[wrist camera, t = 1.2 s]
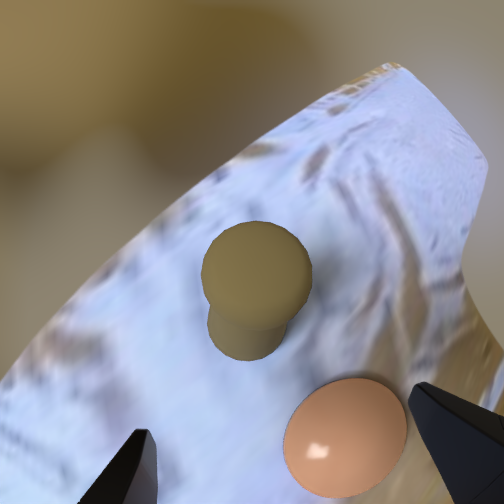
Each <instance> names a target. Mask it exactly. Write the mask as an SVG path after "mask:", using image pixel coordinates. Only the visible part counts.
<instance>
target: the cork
mask: <svg viewBox="0 0 504 504" xmlns="http://www.w3.org/2000/svg"><path fill="white" fill-rule="evenodd" d="M201 279H202V285H203V290H204V294H205V297H206V298H207V300H208V302H209V304H210V309H209V314H208V321H207V326H208V331H209V336H210V338H211V339H212V341H213V343H214V345H215V346H216V347H217V348H218V349H219V350H220V351H221V352H222V353H223V354H225V355H226V356H229V357H231V358H233V359H236V360H241V361H253V360H258V359H262V358H264V357H266V356H267V355H269V354H271V353H272V352H274V350H275V349H276V348H277V347H278V346H279V345H280V343H281V341H282V339H283V336H284V334H285V331H286V326H287V322H288V321H289V320H291V319H292V318H293V317H294V316H295V315H296V314H297V313H298V311H299V310H300V309H301V308H302V306H303V305H304V304H305V303H306V301H307V299H308V296H309V293H310V290H311V287H312V264H311V261H310V258H309V255H308V252H307V250H306V249H305V248H304V246H303V245H302V244H301V242H300V241H299V240H298V238H297V237H295V236H294V235H293V234H291V233H290V232H289V231H288V230H286V229H285V228H283V227H281V226H278V225H276V224H273V223H271V222H262V221H251V222H244V223H240V224H237V225H235V226H233V227H231V228H229V229H226V230H224V231H223V232H222V233H221V234H220V235H219V236H218V237H217V238H216V239H214V240H213V242H212V243H211V245H210V247H209V249H208V251H207V252H206V254H205V257H204V259H203V265H202V271H201Z"/></svg>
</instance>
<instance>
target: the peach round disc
mask: <svg viewBox="0 0 504 504" xmlns="http://www.w3.org/2000/svg"><path fill="white" fill-rule="evenodd" d="M406 434H407V423H406V417H405V413H404V410H403V407H402V405H401V403H400V401H399V400H398V399H397V397H396V396H395V395H394V394H393V393H392V392H391V391H390V390H389V389H388V388H387V387H385V386H383V385H382V384H380V383H378V382H375V381H372V380H368V379H362V378H350V379H344V380H338V381H335V382H331V383H329V384H327V385H324V386H322V387H321V388H319V389H317V390H315V391H314V392H313V393H311V394H310V395H309V396H308V397H307V398H305V399H304V400H303V401H302V402H301V404H300V405H299V406H298V407H297V408H296V410H295V411H294V413H293V414H292V416H291V418H290V420H289V422H288V425H287V428H286V430H285V435H284V441H283V453H284V459H285V462H286V465H287V468H288V470H289V471H290V473H291V475H292V476H293V477H294V479H295V480H296V481H297V482H298V483H299V484H300V485H301V486H302V487H303V488H305V489H306V490H308V491H309V492H311V493H314V494H316V495H319V496H322V497H328V498H345V497H350V496H354V495H357V494H360V493H362V492H365V491H367V490H369V489H370V488H372V487H374V486H375V485H377V484H378V483H379V482H380V481H382V480H383V479H384V478H385V477H386V476H387V475H388V474H389V473H390V472H391V470H392V469H393V468H394V466H395V465H396V463H397V462H398V460H399V458H400V456H401V454H402V451H403V448H404V445H405V441H406Z"/></svg>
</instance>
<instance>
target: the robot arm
mask: <svg viewBox="0 0 504 504" xmlns="http://www.w3.org/2000/svg"><path fill="white" fill-rule="evenodd" d="M408 405H409V408H410V410H411V413H412V415H413V418H414V420H415V423H416V425H417V428H418V430H419V433H420V435H421V437H422V439H423V441H424V443H425V445H426V447H427V449H428V451H429V453H430V455H431V457H432V459H433V461H434V463H435V465H436V466H437V468H438V470H439V472H440V474H441V476H442V478H443V481H444V483H445V485H446V487H447V489H448V491H449V493H450V495H451V497H452V499H453V501H454V504H504V417H503V416H501V415H498V414H496V413H494V412H491V411H489V410H487V409H484V408H482V407H480V406H477V405H475V404H473V403H471V402H468V401H466V400H464V399H462V398H459V397H457V396H455V395H453V394H451V393H448V392H446V391H444V390H442V389H440V388H438V387H435V386H433V385H431V384H429V383H427V382H421V383H418V384H416V385H414V387H413V389H412V392H411V394H410V397H409V399H408ZM157 493H158V480H157V450H156V444H155V441H154V439H153V437H152V435H151V433H150V431H149V430H148V429H135V430H134V432H133V433H132V434H131V435H130V437H129V438H128V439H127V441H126V442H125V443H124V444H123V446H122V447H121V448H120V450H119V451H118V452H117V454H116V455H115V456H114V457H113V459H112V460H111V461H110V462H109V464H108V465H107V466H106V468H105V469H104V470H103V471H102V473H101V474H100V475H99V477H98V478H97V479H96V480H95V482H94V483H93V484H92V485H91V487H90V488H89V489H88V490H87V492H86V493H85V494H84V496H83V497H82V498H81V499H80V502H78V503H77V504H157Z"/></svg>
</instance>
